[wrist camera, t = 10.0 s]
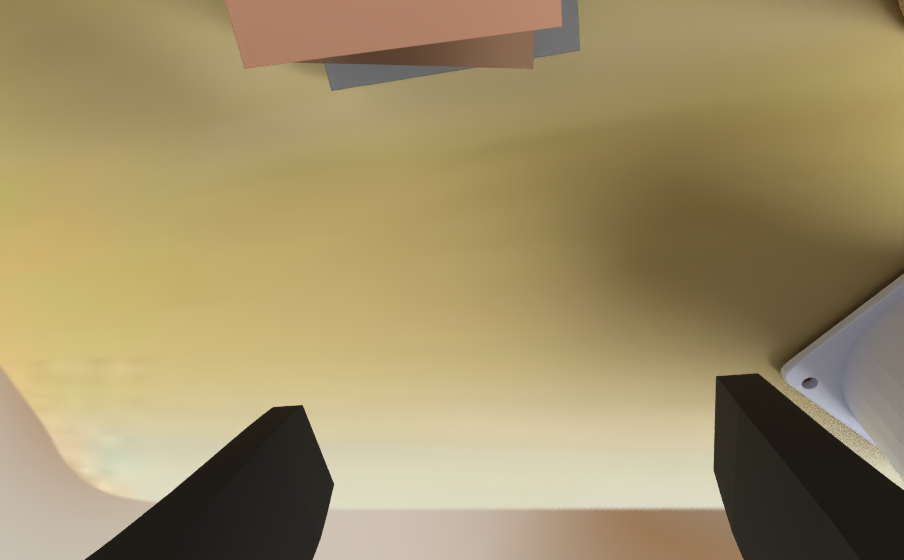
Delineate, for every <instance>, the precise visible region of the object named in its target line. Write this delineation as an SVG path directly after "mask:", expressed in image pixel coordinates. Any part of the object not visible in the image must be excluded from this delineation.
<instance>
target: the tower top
mask: <svg viewBox="0 0 904 560" xmlns="http://www.w3.org/2000/svg"><path fill="white" fill-rule="evenodd" d="M534 43H535V30H532V31H524V32H517V33H509V34H501V35H494V36H486V37H479V38H471V39H464V40H456V41H449V42H441V43H433V44H426V45H418V46H411V47H403V48H396V49H388V50H381V51H373V52H366V53H358V54H350V55H343V56H335V57H328V58H320V59H313V60H305V61H298V62H296V63H335V64H374V65H412V66H451V67H490V68H529V69H533V56H534Z"/></svg>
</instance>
